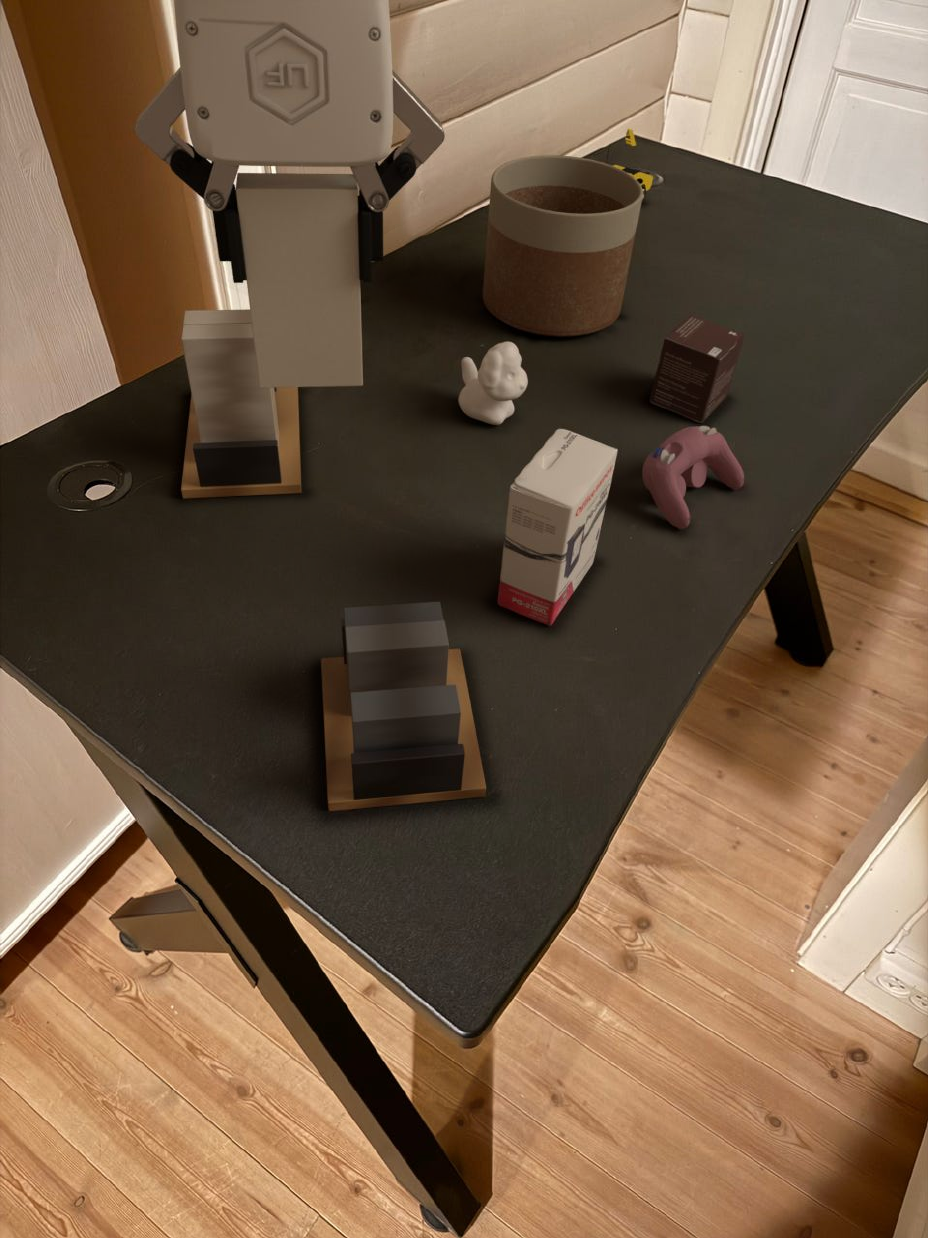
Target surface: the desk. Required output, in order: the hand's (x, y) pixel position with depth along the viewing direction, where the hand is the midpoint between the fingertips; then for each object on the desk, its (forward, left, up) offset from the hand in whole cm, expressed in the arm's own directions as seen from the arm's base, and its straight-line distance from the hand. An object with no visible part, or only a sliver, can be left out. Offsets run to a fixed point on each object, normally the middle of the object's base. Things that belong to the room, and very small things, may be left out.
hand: (303, 269), depth 52 cm
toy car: (+42, +73, -26) cm, 88 cm away
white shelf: (-7, +20, -26) cm, 33 cm away
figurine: (+16, +23, -26) cm, 38 cm away
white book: (0, 0, -7) cm, 7 cm away
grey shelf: (+4, -14, -26) cm, 30 cm away
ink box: (+17, -1, -26) cm, 31 cm away
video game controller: (+32, +9, -26) cm, 42 cm away
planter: (+27, +44, -26) cm, 58 cm away
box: (+37, +24, -26) cm, 51 cm away
